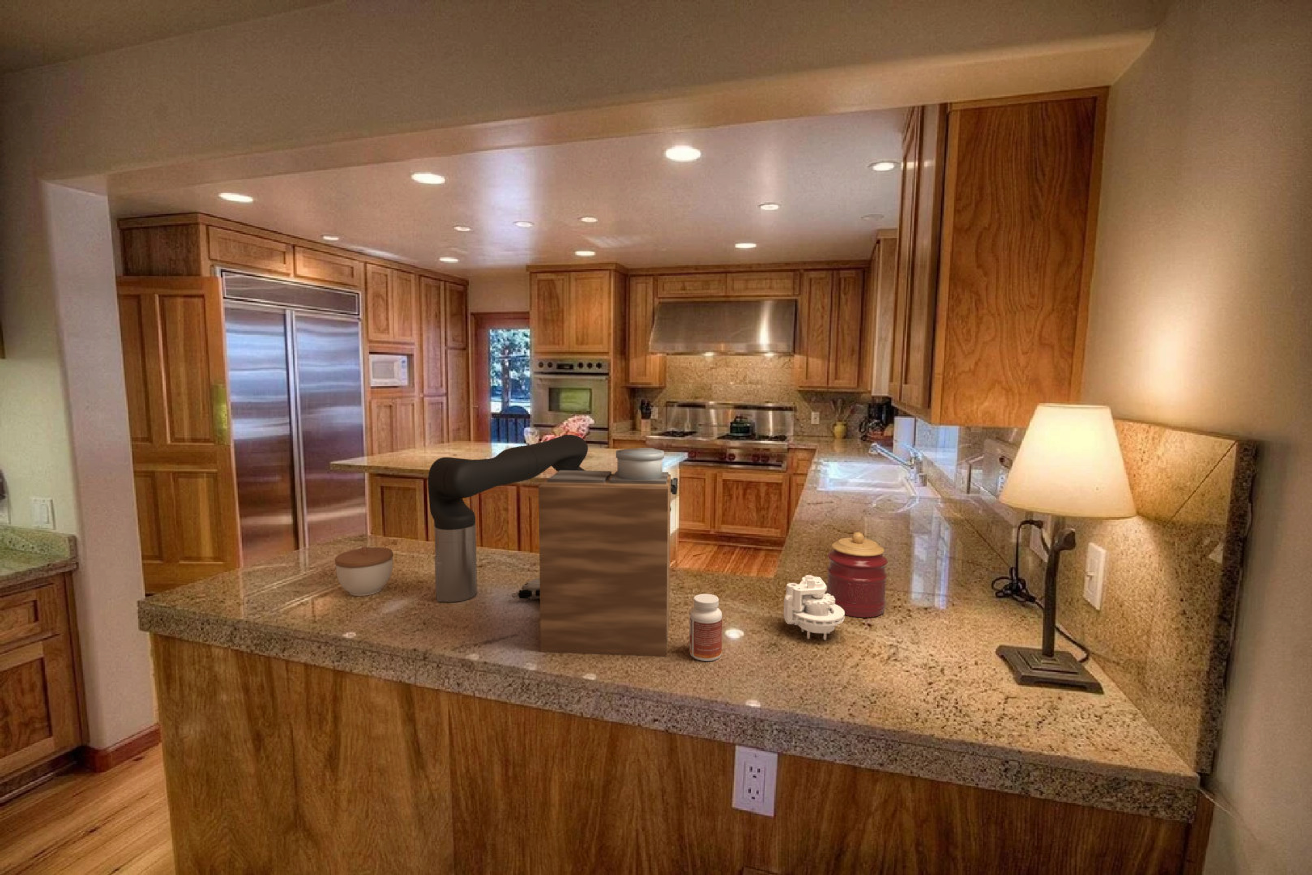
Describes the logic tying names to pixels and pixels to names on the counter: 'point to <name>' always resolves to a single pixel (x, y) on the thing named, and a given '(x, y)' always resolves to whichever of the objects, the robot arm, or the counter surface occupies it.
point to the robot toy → (529, 590)
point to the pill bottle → (705, 628)
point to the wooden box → (604, 563)
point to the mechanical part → (811, 606)
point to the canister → (857, 576)
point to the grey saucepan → (639, 463)
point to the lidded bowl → (364, 570)
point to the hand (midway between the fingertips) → (648, 475)
